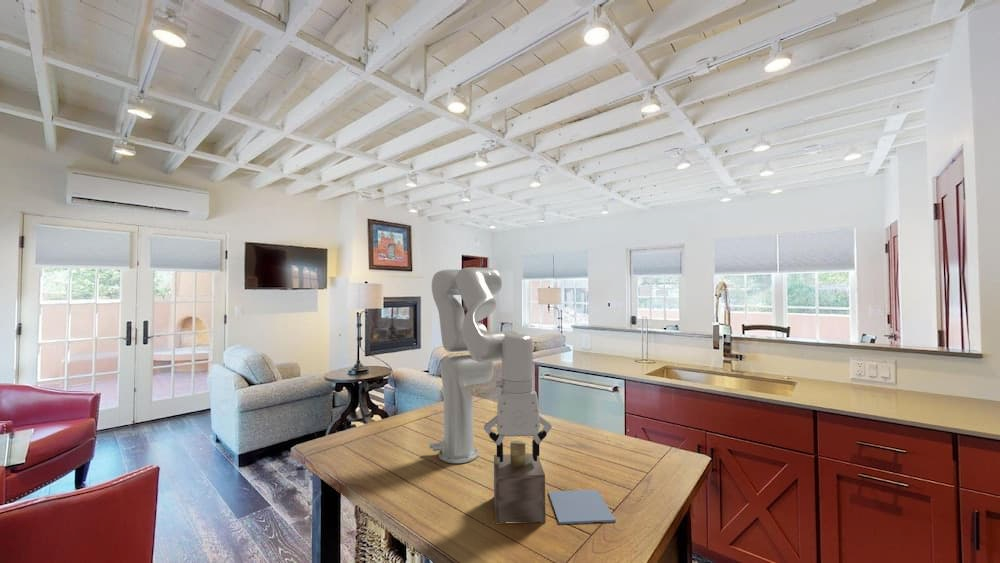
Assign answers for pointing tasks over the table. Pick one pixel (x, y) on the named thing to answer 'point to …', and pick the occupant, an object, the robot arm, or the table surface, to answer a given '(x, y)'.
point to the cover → (519, 486)
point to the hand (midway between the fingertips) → (517, 458)
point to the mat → (580, 507)
